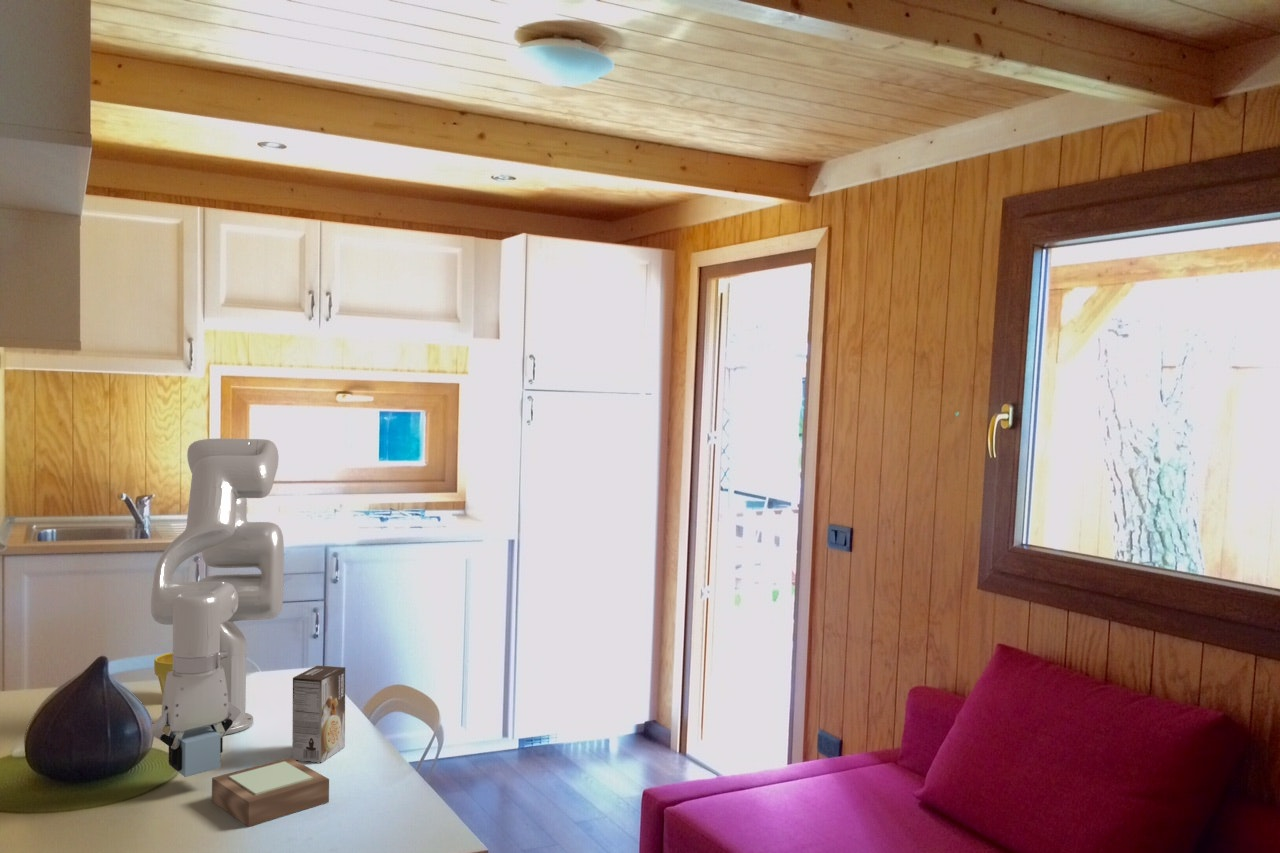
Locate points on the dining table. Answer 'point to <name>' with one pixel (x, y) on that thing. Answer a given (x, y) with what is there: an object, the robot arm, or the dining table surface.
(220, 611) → the robot arm
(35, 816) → the dining table surface
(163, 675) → the plant pot
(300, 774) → the plinth
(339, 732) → the coffee box
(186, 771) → the cube
